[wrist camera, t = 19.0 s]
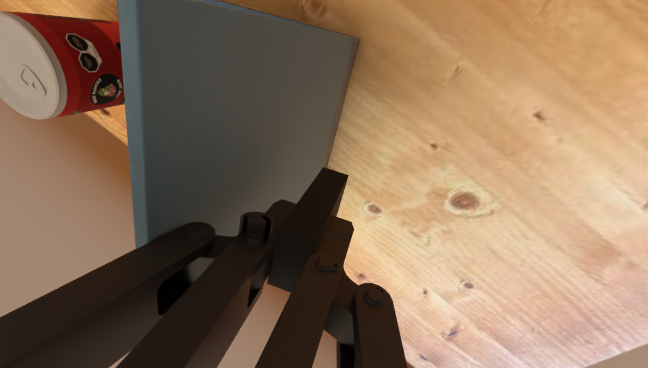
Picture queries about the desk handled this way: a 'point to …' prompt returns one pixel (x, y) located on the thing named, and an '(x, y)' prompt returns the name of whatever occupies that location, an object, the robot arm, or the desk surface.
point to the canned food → (59, 64)
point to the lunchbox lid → (222, 111)
